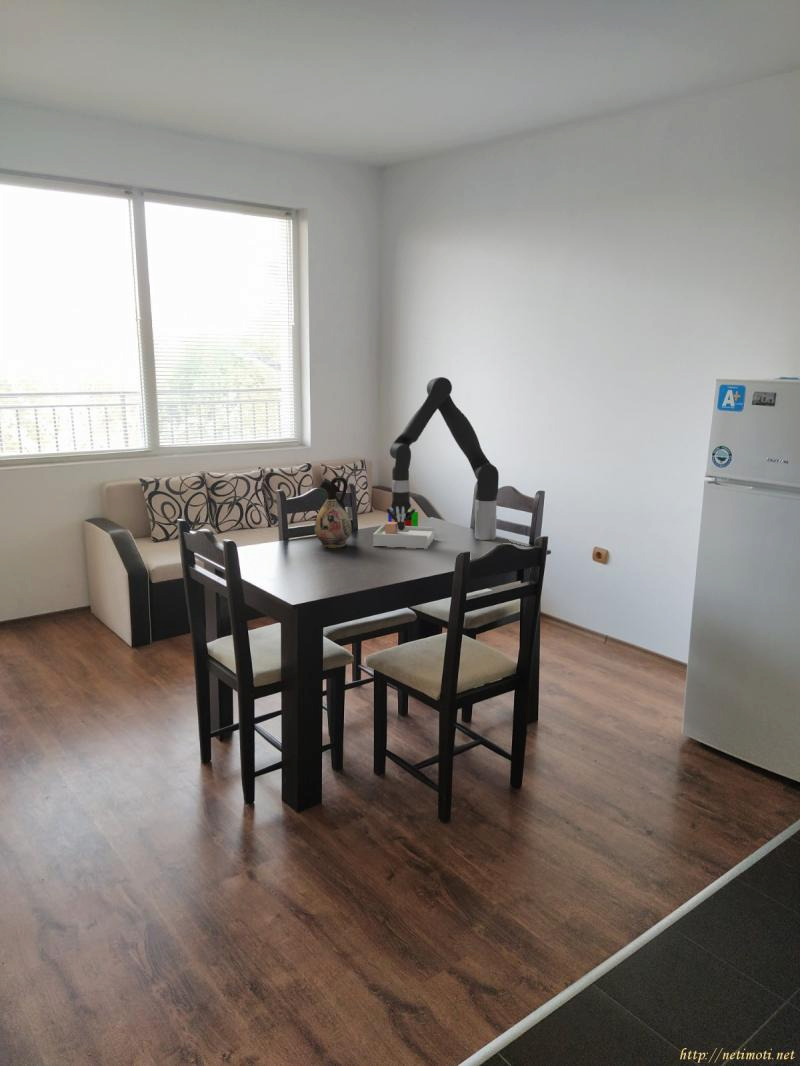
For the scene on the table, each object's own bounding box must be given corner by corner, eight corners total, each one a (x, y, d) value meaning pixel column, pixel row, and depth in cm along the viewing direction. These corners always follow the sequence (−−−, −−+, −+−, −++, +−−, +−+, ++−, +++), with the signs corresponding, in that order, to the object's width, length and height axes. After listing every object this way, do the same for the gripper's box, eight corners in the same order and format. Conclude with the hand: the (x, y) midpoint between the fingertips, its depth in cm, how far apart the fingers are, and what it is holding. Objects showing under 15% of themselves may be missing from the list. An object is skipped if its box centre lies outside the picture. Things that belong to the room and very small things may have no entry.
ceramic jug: (313, 550, 316) (312, 478, 310) (316, 541, 331) (314, 473, 325) (355, 550, 317) (354, 478, 310) (355, 541, 332) (354, 473, 325)
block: (397, 532, 331) (397, 522, 330) (395, 534, 327) (395, 524, 326) (387, 531, 332) (387, 521, 331) (385, 534, 328) (385, 523, 327)
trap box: (433, 539, 336) (433, 527, 335) (426, 548, 318) (427, 536, 317) (382, 537, 340) (382, 525, 339) (373, 546, 323) (373, 533, 322)
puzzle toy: (388, 531, 352) (388, 510, 350) (407, 529, 357) (407, 508, 355) (398, 535, 344) (398, 513, 341) (417, 533, 348) (417, 511, 346)
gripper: (417, 489, 327) (418, 528, 331) (387, 488, 329) (388, 527, 333) (414, 492, 320) (415, 532, 323) (383, 491, 322) (384, 531, 326)
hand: (401, 530), depth 328 cm, fingers closed
